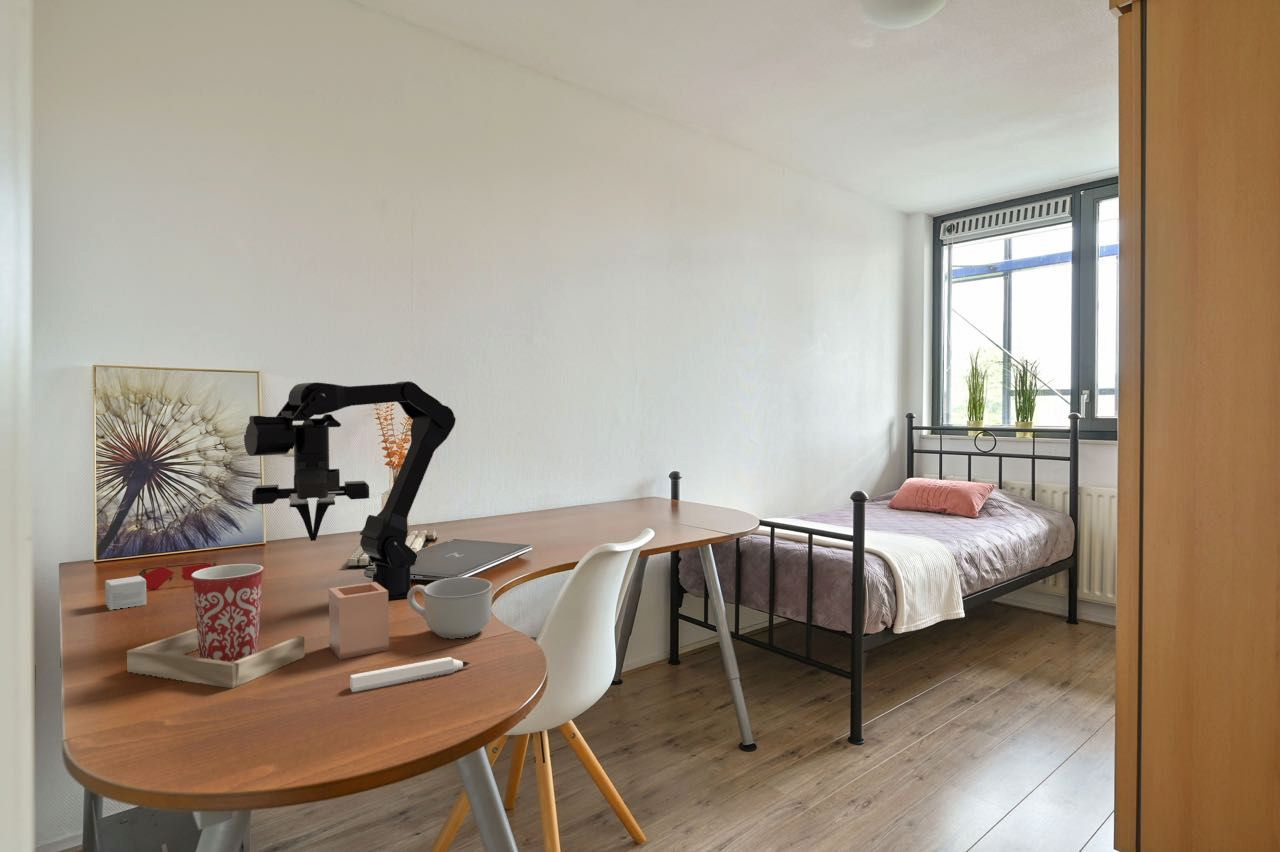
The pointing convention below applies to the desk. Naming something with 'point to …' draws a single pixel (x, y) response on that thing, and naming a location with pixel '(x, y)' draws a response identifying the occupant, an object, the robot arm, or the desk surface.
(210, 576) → the mug
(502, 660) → the desk surface
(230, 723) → the desk surface
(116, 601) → the small box
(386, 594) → the terracotta pot
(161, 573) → the glasses
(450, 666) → the marker
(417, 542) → the mechanical keyboard
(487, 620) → the teacup
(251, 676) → the bay
